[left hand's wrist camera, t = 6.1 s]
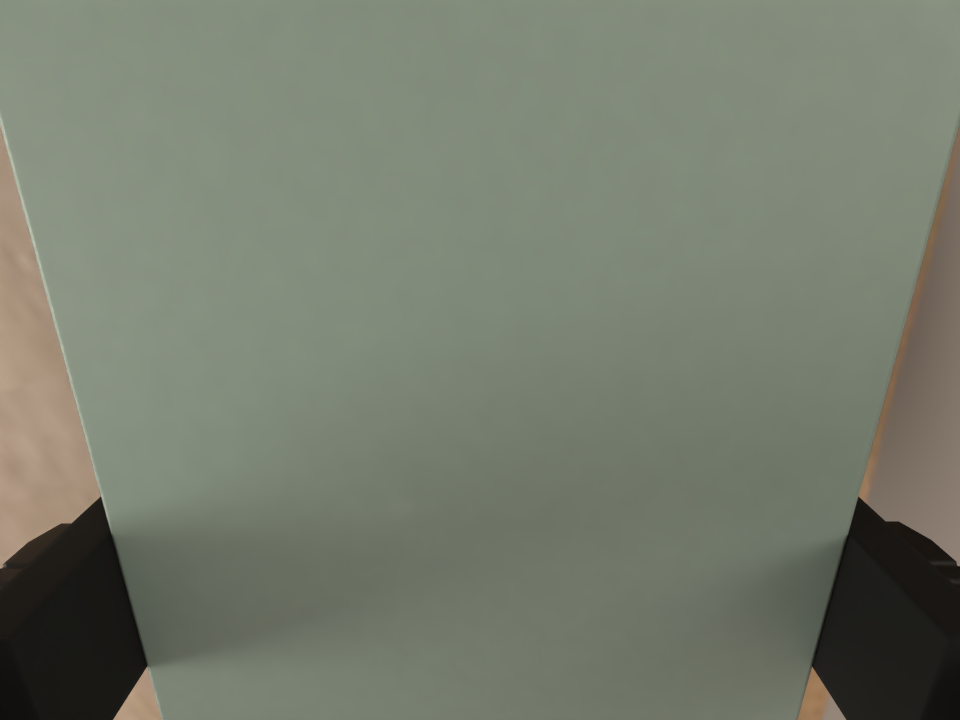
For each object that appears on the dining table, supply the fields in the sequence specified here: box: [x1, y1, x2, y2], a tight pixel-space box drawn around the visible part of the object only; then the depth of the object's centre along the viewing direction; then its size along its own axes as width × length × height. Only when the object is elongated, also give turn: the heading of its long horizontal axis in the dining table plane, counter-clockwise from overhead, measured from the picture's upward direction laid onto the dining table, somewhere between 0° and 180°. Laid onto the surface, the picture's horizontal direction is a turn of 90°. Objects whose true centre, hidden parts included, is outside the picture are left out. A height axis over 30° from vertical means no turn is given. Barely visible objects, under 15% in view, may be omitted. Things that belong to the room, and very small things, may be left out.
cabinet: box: [0, 0, 960, 720], centre depth 11 cm, size 19×11×8 cm, turn 0°
